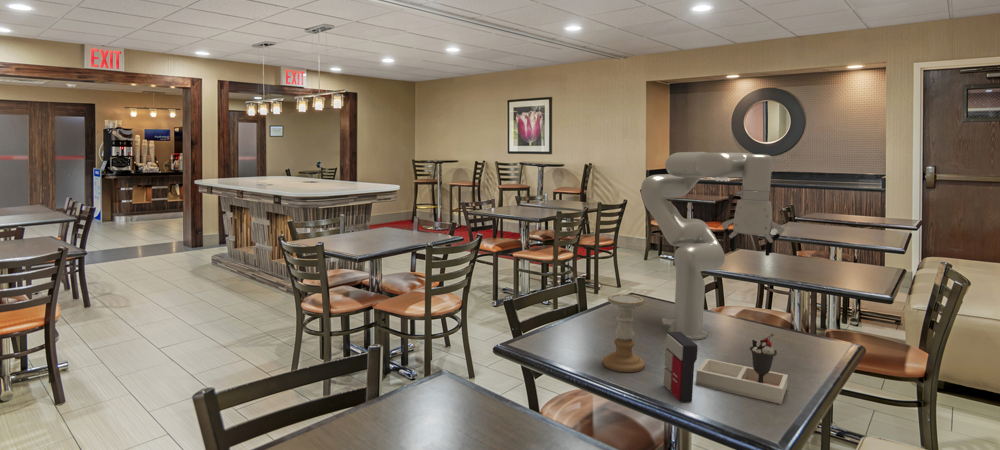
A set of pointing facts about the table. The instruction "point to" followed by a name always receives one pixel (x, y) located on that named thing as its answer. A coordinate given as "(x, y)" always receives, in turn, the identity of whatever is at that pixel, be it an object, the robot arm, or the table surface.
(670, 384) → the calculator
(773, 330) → the table surface
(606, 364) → the candle holder
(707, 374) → the carrier tray
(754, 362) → the sundae
